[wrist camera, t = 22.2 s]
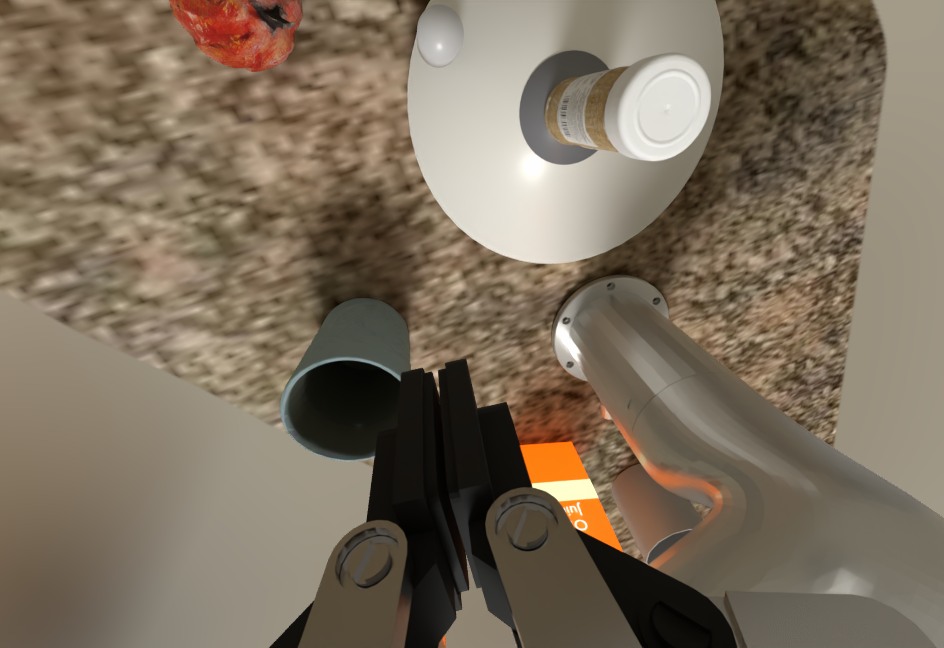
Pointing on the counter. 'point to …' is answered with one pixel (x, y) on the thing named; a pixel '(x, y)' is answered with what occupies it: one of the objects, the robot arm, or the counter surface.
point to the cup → (652, 512)
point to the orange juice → (569, 487)
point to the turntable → (523, 125)
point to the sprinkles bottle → (633, 107)
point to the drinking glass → (348, 381)
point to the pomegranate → (241, 29)
